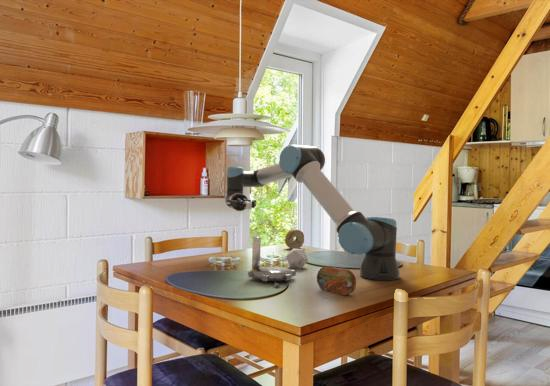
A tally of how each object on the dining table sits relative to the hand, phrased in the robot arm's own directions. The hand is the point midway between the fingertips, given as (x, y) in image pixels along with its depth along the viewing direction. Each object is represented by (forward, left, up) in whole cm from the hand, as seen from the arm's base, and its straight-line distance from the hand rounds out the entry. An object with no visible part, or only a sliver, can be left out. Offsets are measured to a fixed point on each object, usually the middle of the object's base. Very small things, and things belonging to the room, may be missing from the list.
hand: (249, 205), depth 193 cm
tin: (-45, 0, -26) cm, 52 cm away
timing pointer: (-26, +10, -26) cm, 38 cm away
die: (-8, -20, -26) cm, 34 cm away
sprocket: (-18, +4, -25) cm, 31 cm away
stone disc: (+27, -55, -26) cm, 67 cm away
